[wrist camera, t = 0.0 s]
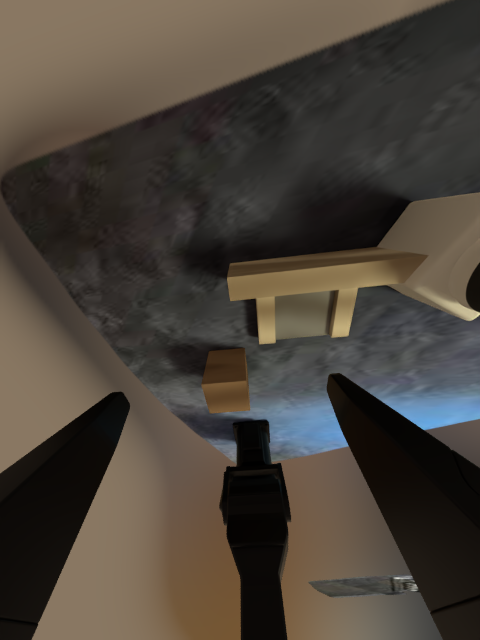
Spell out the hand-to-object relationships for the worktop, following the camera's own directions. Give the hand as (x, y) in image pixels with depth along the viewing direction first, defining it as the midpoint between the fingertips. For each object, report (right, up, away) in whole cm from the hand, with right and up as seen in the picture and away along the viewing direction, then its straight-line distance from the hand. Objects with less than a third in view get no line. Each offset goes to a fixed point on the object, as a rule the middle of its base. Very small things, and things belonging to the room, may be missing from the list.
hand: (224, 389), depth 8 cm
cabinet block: (-1, -3, +18) cm, 19 cm away
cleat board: (+8, +6, +14) cm, 17 cm away
